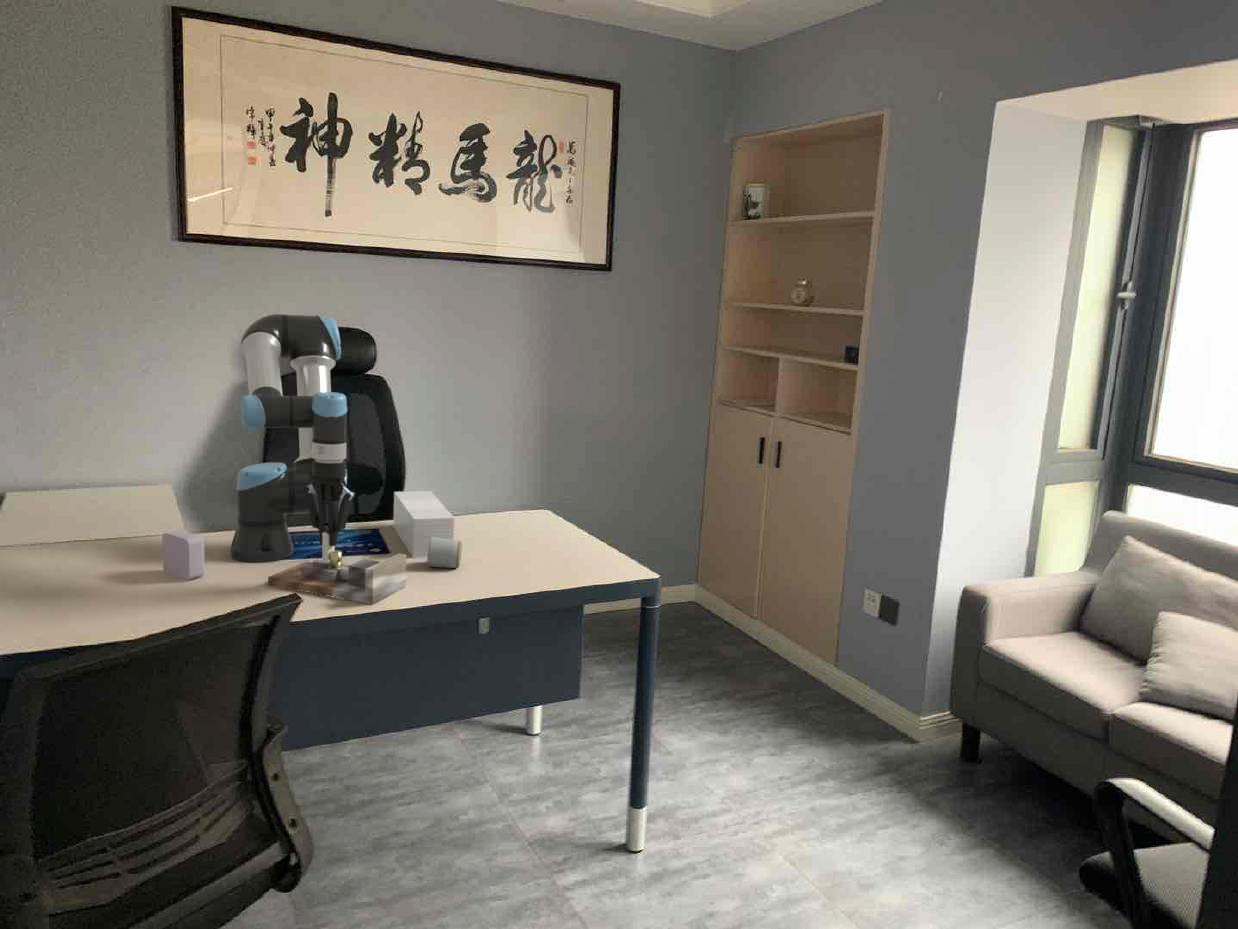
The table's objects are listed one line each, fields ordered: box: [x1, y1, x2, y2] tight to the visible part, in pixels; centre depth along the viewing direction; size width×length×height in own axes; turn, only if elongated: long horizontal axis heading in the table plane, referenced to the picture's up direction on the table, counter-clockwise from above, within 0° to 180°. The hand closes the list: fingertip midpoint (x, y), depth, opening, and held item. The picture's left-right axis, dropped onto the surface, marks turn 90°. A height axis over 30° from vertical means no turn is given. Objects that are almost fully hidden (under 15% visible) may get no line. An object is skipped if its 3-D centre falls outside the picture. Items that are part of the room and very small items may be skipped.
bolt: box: [328, 549, 349, 580], centre depth 213 cm, size 12×3×6 cm, turn 72°
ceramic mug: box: [426, 537, 463, 569], centre depth 236 cm, size 11×8×8 cm
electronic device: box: [161, 529, 206, 581], centre depth 215 cm, size 10×5×10 cm, turn 59°
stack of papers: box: [392, 490, 455, 559], centre depth 256 cm, size 32×11×11 cm, turn 23°
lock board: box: [267, 553, 407, 605], centre depth 214 cm, size 28×14×8 cm, turn 72°
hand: (328, 558), depth 215 cm, fingers closed
